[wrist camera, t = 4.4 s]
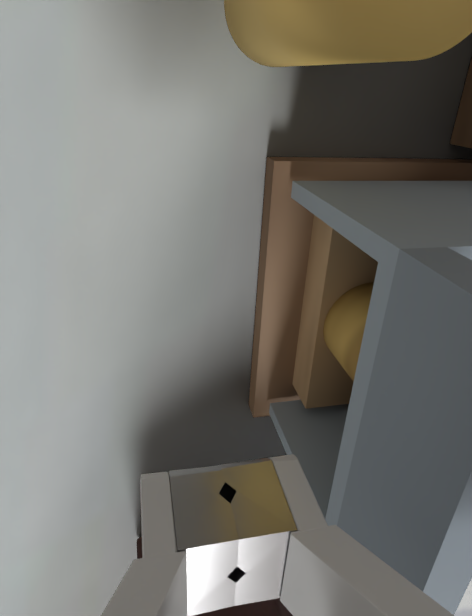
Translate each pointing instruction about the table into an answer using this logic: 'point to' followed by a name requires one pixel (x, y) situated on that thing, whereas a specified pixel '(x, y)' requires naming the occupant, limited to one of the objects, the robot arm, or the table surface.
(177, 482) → the robot arm
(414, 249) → the cover
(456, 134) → the board
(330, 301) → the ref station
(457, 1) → the pin
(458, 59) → the table surface
